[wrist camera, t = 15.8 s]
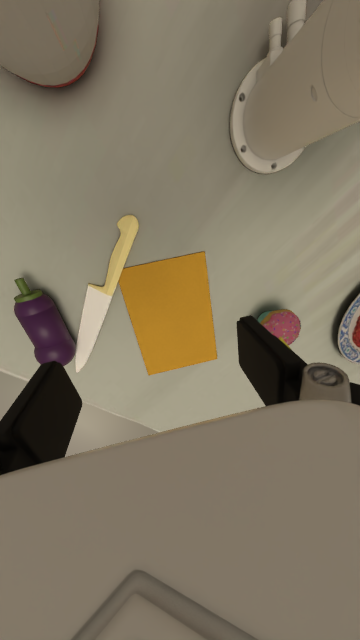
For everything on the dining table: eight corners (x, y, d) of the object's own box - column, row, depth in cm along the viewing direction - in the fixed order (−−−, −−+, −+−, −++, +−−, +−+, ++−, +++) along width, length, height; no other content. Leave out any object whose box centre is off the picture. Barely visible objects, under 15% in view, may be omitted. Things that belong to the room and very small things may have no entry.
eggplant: (16, 276, 35) (-20, 289, 29) (49, 270, 33) (17, 283, 28) (59, 354, 42) (36, 376, 36) (87, 352, 41) (68, 375, 35)
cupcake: (255, 343, 47) (287, 379, 37) (242, 314, 44) (274, 345, 33) (289, 325, 47) (332, 356, 36) (279, 294, 43) (324, 318, 32)
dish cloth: (115, 270, 36) (114, 270, 36) (204, 251, 37) (204, 251, 36) (148, 374, 47) (148, 375, 46) (216, 358, 48) (217, 358, 47)
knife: (60, 368, 42) (82, 377, 43) (111, 204, 31) (140, 219, 31) (64, 364, 43) (85, 373, 44) (114, 206, 32) (142, 220, 33)
